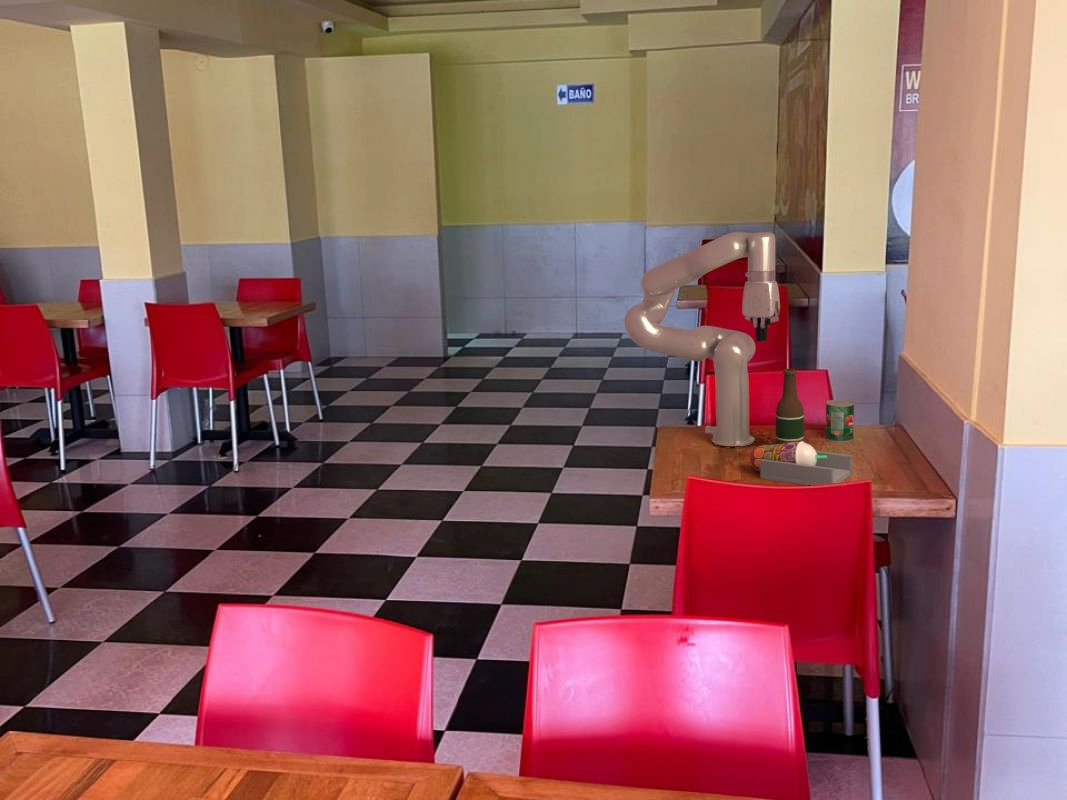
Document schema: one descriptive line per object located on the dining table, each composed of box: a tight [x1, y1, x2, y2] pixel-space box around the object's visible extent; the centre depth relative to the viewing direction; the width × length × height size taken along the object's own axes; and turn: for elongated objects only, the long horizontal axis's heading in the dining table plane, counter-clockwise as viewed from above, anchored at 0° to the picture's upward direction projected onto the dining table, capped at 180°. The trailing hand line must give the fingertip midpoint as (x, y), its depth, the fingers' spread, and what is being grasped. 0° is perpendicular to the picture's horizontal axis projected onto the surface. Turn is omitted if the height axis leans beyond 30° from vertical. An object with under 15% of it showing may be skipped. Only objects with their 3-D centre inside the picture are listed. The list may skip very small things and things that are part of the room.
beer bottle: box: [775, 368, 805, 444], centre depth 283 cm, size 8×8×24 cm
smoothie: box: [750, 441, 827, 472], centre depth 263 cm, size 8×8×20 cm
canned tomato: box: [825, 399, 855, 443], centre depth 295 cm, size 8×8×11 cm
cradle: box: [759, 450, 853, 486], centre depth 263 cm, size 19×14×5 cm
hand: (761, 340), depth 289 cm, fingers closed
